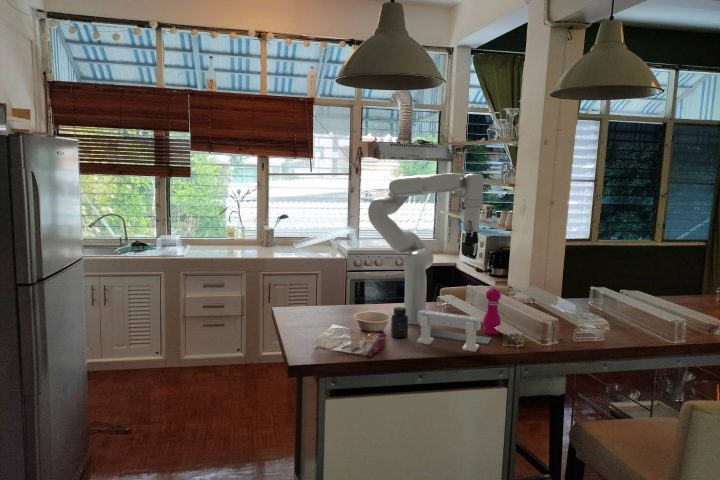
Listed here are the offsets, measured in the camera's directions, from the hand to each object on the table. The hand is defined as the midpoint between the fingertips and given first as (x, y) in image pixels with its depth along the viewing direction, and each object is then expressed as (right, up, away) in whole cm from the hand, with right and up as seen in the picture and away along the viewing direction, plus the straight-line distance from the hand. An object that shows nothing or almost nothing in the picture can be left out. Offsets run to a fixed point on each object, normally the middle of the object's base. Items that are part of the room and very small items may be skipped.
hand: (471, 244), depth 228 cm
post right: (-4, -39, -20) cm, 44 cm away
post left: (-21, -38, -12) cm, 45 cm away
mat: (-8, -38, -6) cm, 39 cm away
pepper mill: (+9, -37, +2) cm, 38 cm away
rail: (-12, -31, -17) cm, 37 cm away
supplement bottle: (-31, -38, -8) cm, 49 cm away
